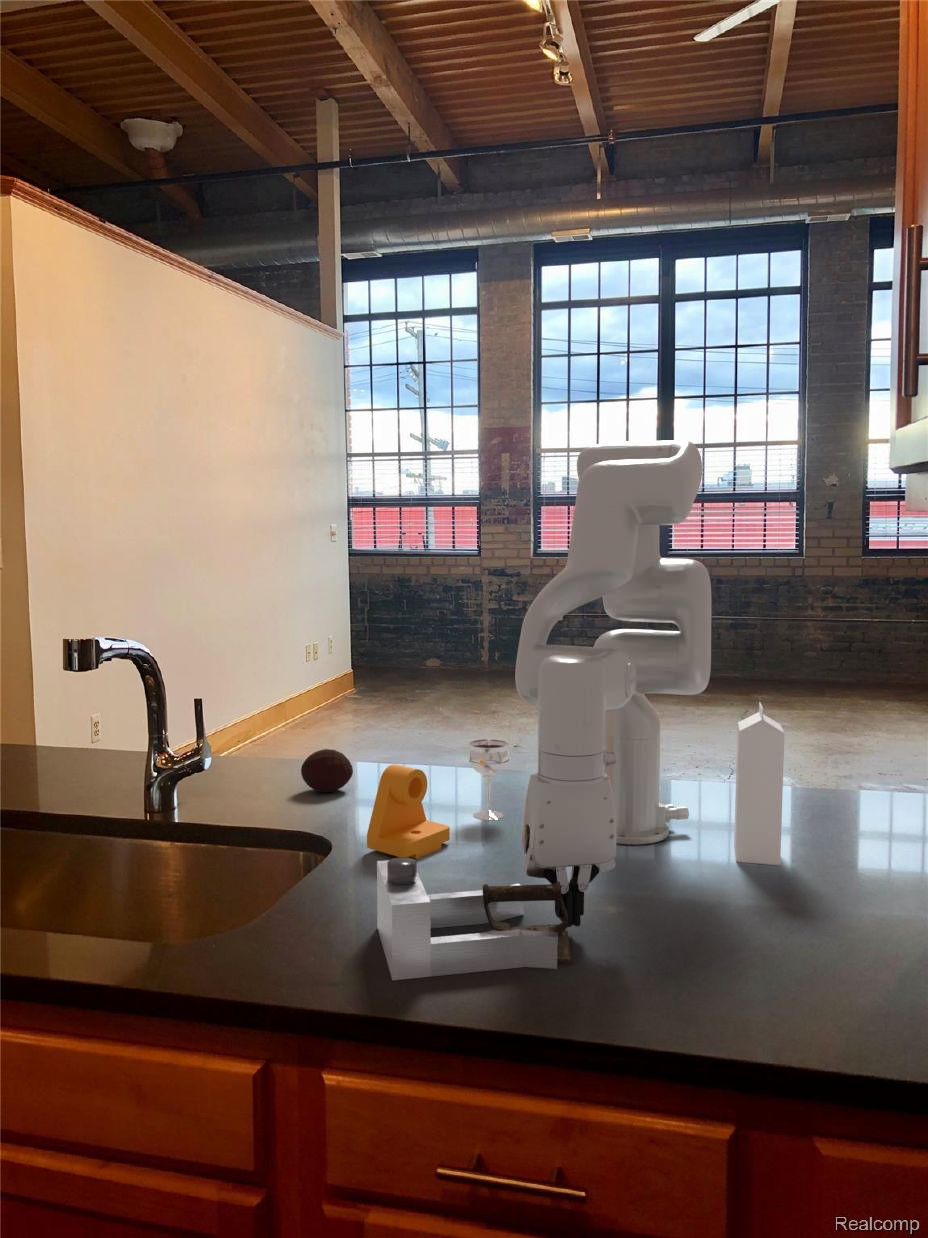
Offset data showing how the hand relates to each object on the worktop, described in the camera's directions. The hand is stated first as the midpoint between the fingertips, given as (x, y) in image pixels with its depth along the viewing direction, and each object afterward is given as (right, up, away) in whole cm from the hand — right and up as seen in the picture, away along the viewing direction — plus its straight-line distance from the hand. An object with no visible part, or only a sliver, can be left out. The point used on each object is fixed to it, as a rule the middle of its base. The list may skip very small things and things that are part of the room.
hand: (569, 921), depth 104 cm
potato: (-37, +3, +60) cm, 70 cm away
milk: (+30, 0, +26) cm, 40 cm away
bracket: (-20, +1, +30) cm, 36 cm away
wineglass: (-8, +2, +45) cm, 46 cm away
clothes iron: (-6, -2, -3) cm, 7 cm away
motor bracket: (-12, -2, -2) cm, 12 cm away
